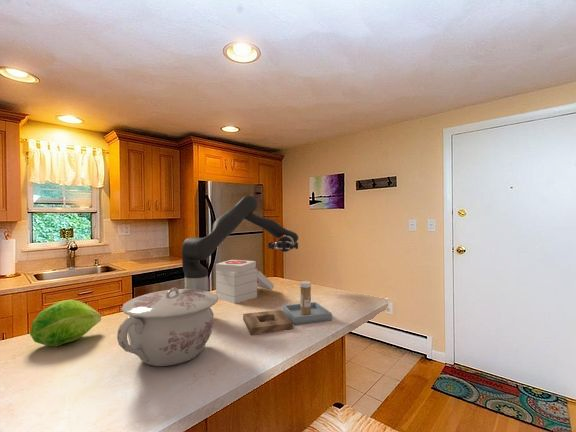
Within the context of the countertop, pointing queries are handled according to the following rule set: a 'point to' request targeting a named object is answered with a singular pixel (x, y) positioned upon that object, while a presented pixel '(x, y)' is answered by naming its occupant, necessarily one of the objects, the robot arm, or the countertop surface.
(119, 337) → the chamber pot
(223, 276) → the pizza boxes
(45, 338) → the green papaya
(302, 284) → the spice jar
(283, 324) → the socket board
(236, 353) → the countertop surface
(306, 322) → the parts tray
